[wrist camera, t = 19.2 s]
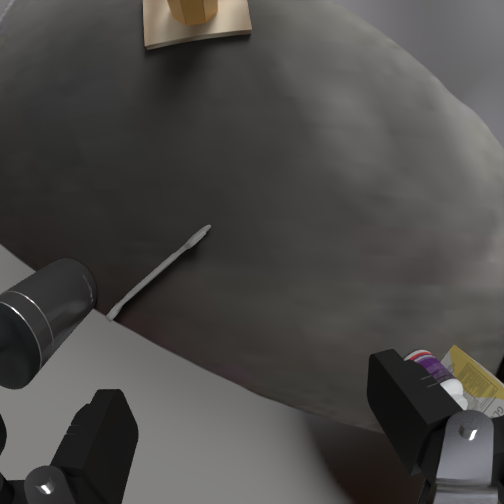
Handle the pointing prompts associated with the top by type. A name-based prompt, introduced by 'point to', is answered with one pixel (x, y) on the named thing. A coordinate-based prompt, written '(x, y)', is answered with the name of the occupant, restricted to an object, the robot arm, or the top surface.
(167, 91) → the top surface
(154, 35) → the post board
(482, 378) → the pasta box
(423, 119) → the top surface
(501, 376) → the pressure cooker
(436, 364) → the pill bottle
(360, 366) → the top surface
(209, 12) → the octagonal lidded canister
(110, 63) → the top surface
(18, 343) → the robot arm
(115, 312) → the combination wrench
